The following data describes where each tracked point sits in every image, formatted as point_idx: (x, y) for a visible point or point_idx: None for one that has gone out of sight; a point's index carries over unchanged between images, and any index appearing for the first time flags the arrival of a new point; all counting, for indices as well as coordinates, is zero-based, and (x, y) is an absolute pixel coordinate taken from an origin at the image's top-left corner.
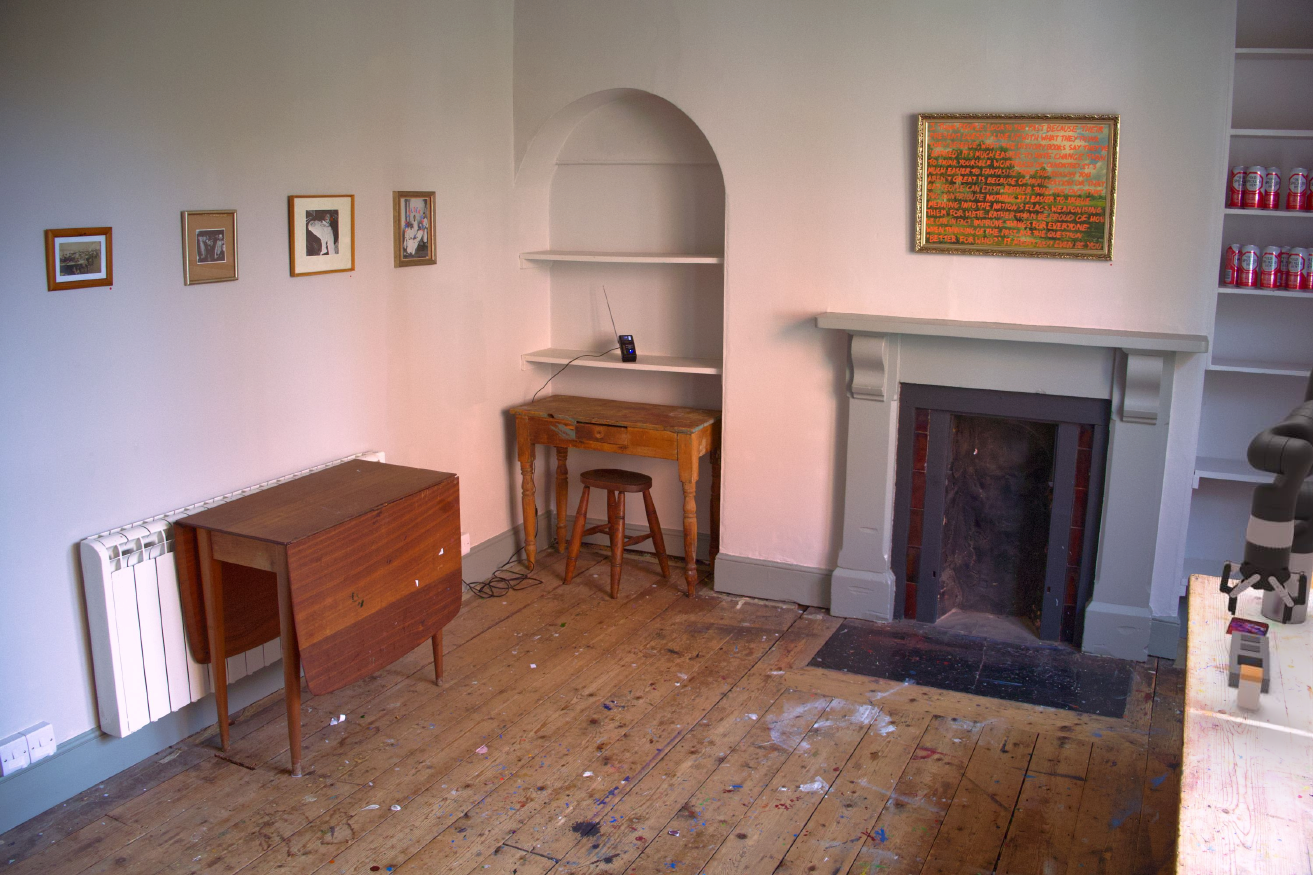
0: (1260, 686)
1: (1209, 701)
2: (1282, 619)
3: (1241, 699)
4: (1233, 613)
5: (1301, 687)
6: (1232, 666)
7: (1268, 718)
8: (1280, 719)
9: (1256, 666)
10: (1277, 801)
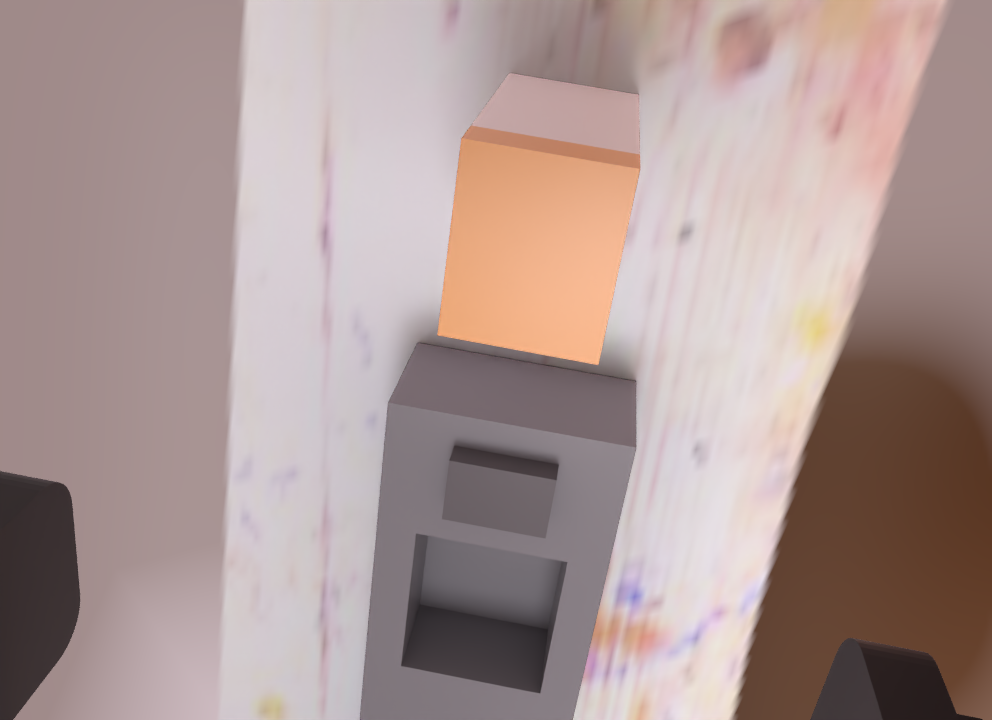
0: (480, 119)
1: (794, 183)
2: (24, 543)
3: (613, 108)
4: (900, 660)
5: (231, 507)
6: (603, 529)
7: (443, 42)
8: (370, 53)
9: (440, 628)
10: None
